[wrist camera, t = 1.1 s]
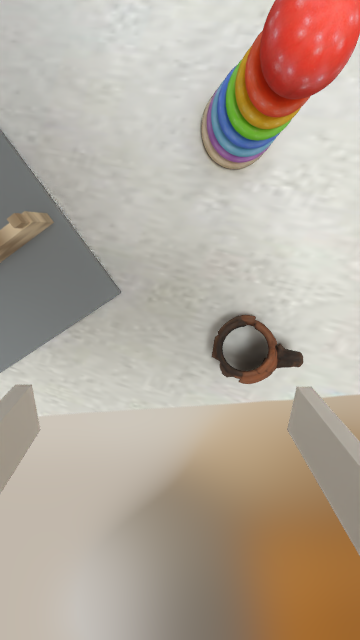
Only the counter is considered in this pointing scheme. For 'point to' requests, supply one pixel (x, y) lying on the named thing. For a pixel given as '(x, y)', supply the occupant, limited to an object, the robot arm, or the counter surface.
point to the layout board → (42, 268)
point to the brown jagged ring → (274, 359)
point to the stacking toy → (278, 76)
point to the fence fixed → (21, 231)
